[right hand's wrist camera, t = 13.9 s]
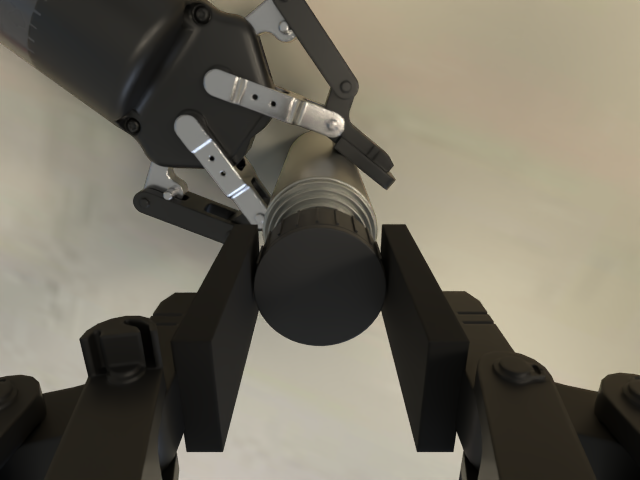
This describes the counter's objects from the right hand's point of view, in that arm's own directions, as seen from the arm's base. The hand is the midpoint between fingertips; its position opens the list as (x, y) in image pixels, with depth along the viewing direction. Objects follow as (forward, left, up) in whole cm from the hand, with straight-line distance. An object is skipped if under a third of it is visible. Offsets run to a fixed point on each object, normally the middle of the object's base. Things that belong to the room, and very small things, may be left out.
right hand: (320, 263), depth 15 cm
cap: (0, 0, +2) cm, 2 cm away
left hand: (-1, +2, -10) cm, 10 cm away
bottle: (0, 0, -16) cm, 16 cm away
